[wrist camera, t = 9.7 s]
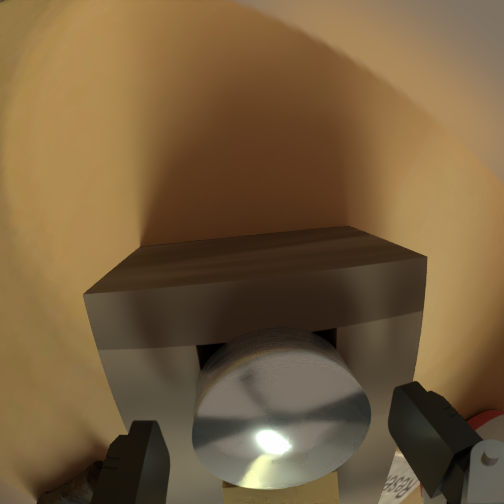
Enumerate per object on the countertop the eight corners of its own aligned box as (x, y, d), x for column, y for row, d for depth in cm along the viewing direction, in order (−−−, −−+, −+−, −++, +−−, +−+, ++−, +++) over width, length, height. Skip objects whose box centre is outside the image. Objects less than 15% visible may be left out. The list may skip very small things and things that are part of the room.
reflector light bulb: (198, 276, 17) (173, 378, 8) (302, 264, 17) (380, 349, 8) (212, 365, 18) (208, 495, 9) (305, 354, 19) (360, 471, 9)
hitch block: (139, 247, 17) (82, 294, 10) (348, 226, 18) (427, 256, 10) (187, 451, 21) (181, 534, 13) (341, 431, 22) (376, 506, 14)
